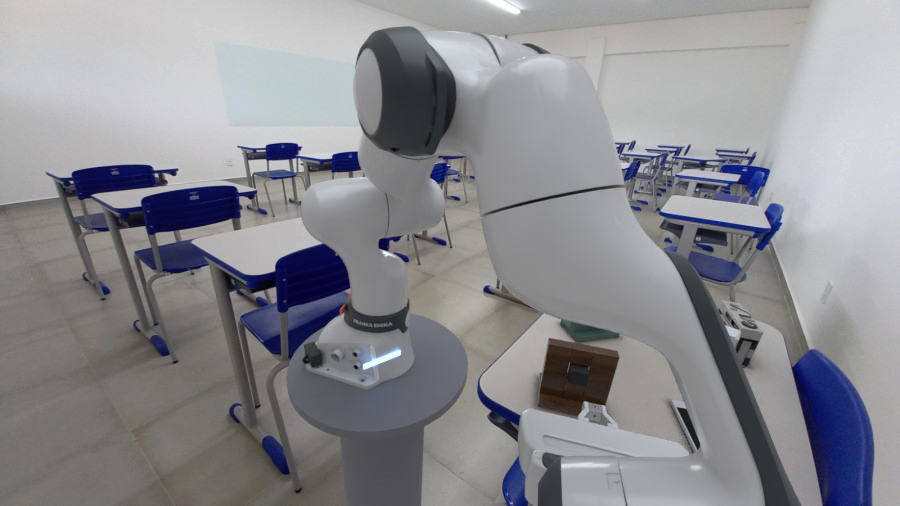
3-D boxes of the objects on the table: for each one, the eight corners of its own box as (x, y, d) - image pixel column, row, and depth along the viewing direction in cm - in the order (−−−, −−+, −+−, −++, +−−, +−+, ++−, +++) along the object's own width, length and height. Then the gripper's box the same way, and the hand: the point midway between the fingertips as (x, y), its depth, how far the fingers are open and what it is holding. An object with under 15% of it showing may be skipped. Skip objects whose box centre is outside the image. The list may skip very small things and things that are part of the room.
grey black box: (693, 327, 96) (705, 294, 92) (728, 334, 93) (742, 301, 89) (708, 357, 84) (722, 322, 80) (749, 367, 81) (766, 331, 77)
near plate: (604, 422, 64) (621, 365, 59) (537, 406, 67) (548, 350, 62) (598, 390, 72) (613, 337, 67) (538, 377, 74) (548, 325, 69)
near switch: (585, 387, 63) (589, 373, 62) (568, 383, 64) (571, 370, 63) (584, 375, 66) (587, 363, 65) (567, 372, 66) (570, 359, 65)
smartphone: (709, 409, 68) (711, 405, 68) (755, 486, 54) (757, 482, 54) (669, 402, 70) (671, 398, 69) (704, 475, 56) (706, 471, 55)
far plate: (618, 337, 89) (631, 292, 84) (577, 342, 86) (588, 296, 81) (598, 319, 96) (609, 277, 92) (560, 324, 93) (569, 280, 88)
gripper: (727, 512, 35) (680, 406, 47) (517, 457, 39) (525, 374, 51) (706, 551, 37) (666, 441, 49) (511, 495, 41) (519, 407, 54)
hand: (593, 406), depth 50 cm, fingers closed
